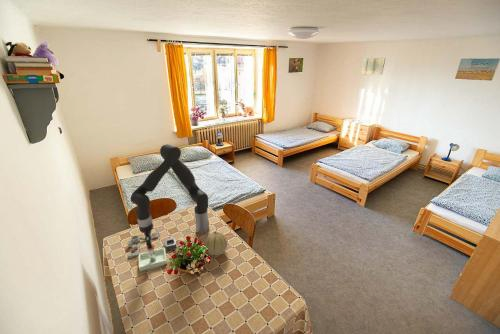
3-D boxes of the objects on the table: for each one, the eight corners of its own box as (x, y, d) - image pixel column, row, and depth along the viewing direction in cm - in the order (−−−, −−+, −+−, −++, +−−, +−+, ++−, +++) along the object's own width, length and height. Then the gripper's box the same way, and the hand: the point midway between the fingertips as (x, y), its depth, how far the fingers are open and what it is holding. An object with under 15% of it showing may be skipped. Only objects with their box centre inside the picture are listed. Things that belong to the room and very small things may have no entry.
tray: (165, 250, 163) (164, 247, 162) (167, 264, 153) (166, 260, 152) (139, 257, 158) (138, 253, 156) (139, 271, 148) (138, 267, 146)
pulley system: (116, 254, 161) (133, 260, 155) (115, 249, 159) (132, 254, 154) (147, 230, 184) (162, 235, 179) (146, 225, 182) (161, 229, 177)
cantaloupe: (212, 263, 154) (210, 245, 148) (201, 249, 165) (200, 232, 158) (231, 253, 162) (231, 236, 156) (220, 241, 173) (220, 224, 166)
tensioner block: (175, 240, 172) (175, 237, 171) (176, 247, 166) (176, 244, 165) (165, 243, 170) (164, 240, 168) (166, 250, 164) (165, 246, 163)
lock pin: (156, 256, 158) (153, 244, 153) (156, 261, 154) (153, 248, 150) (149, 258, 156) (146, 245, 151) (149, 263, 153) (147, 250, 148)
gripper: (152, 228, 137) (157, 249, 145) (151, 214, 149) (155, 234, 156) (138, 232, 135) (143, 253, 142) (138, 217, 147) (143, 237, 154)
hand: (150, 243), depth 149 cm, fingers open, 8 cm apart
